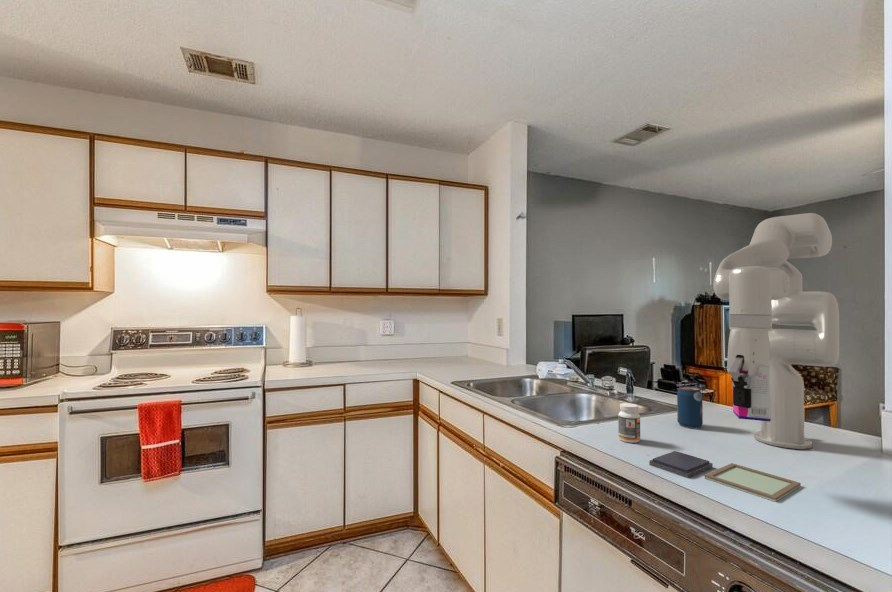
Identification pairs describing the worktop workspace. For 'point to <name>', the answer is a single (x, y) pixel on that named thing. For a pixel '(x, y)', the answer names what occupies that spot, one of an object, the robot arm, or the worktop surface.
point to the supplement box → (757, 397)
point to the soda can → (689, 407)
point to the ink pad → (681, 464)
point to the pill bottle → (629, 423)
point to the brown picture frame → (753, 481)
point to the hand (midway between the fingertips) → (750, 403)
